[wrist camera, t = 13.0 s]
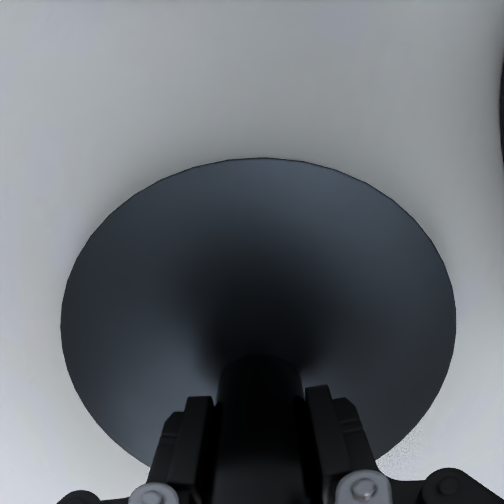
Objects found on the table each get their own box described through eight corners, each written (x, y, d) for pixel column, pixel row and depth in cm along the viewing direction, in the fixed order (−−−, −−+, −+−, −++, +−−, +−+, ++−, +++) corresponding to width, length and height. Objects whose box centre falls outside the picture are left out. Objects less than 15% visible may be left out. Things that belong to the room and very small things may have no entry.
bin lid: (138, 476, 14) (108, 574, 8) (33, 199, 10) (-116, 248, 3) (413, 452, 14) (454, 548, 7) (450, 147, 10) (612, 158, 3)
